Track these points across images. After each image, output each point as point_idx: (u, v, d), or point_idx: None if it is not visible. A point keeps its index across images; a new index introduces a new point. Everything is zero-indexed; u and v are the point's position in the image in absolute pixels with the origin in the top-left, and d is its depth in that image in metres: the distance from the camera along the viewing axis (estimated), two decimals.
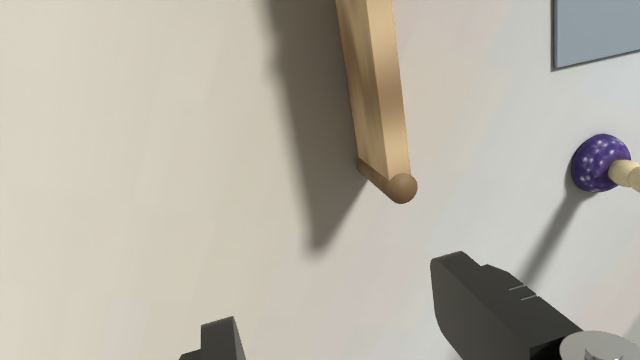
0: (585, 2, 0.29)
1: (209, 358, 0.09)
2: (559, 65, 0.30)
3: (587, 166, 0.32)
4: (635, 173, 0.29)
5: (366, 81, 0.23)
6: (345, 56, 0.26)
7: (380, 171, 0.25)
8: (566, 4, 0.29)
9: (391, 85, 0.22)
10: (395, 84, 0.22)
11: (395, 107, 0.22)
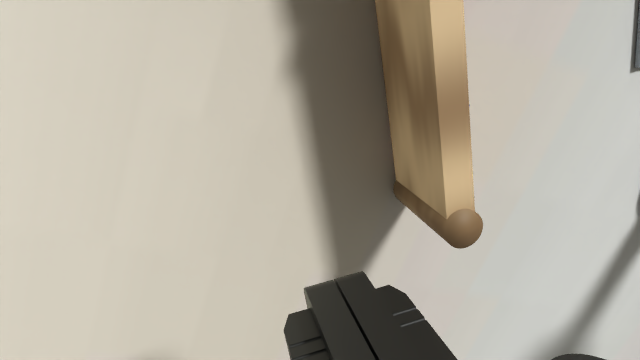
0: None
1: (324, 314, 0.10)
2: None
3: None
4: None
5: (417, 88, 0.18)
6: (384, 53, 0.20)
7: (432, 204, 0.19)
8: None
9: (455, 94, 0.16)
10: (460, 92, 0.16)
11: (459, 123, 0.17)
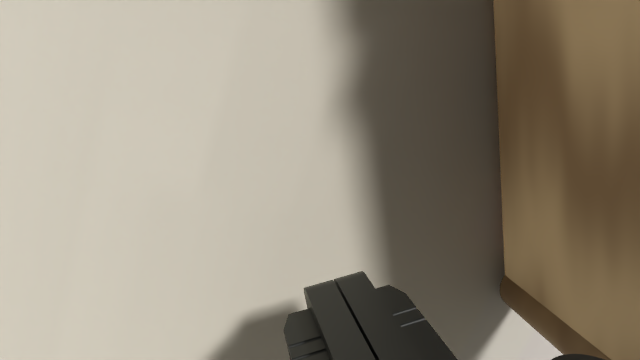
0: None
1: (324, 314, 0.10)
2: None
3: None
4: None
5: (599, 150, 0.09)
6: (505, 80, 0.12)
7: (604, 348, 0.11)
8: None
9: None
10: None
11: None
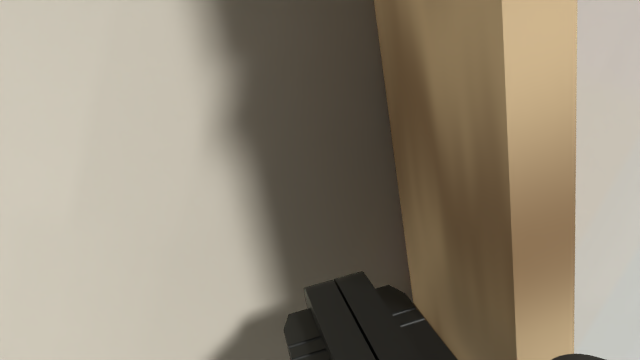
0: None
1: (324, 314, 0.10)
2: None
3: None
4: None
5: (462, 184, 0.09)
6: (392, 104, 0.11)
7: None
8: None
9: (549, 212, 0.08)
10: (560, 208, 0.08)
11: (553, 267, 0.08)
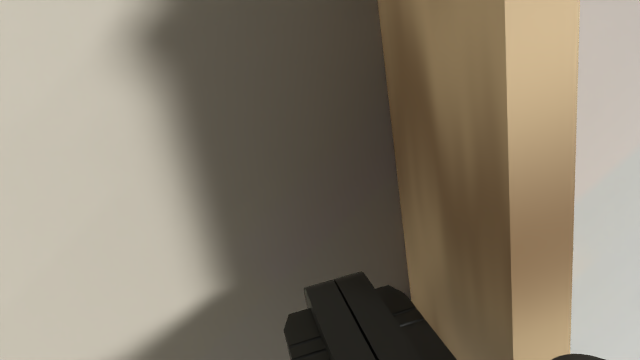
0: None
1: (324, 314, 0.10)
2: None
3: None
4: None
5: (461, 183, 0.09)
6: (394, 103, 0.11)
7: None
8: None
9: (548, 212, 0.08)
10: (558, 208, 0.08)
11: (551, 267, 0.08)
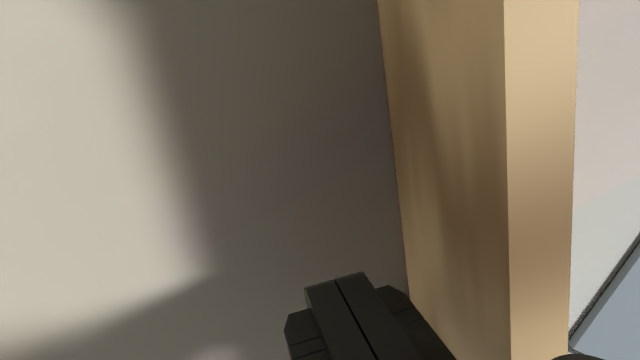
0: None
1: (324, 314, 0.10)
2: (577, 347, 0.16)
3: None
4: None
5: (460, 183, 0.09)
6: (393, 102, 0.11)
7: None
8: None
9: (546, 212, 0.08)
10: (557, 208, 0.08)
11: (549, 267, 0.08)
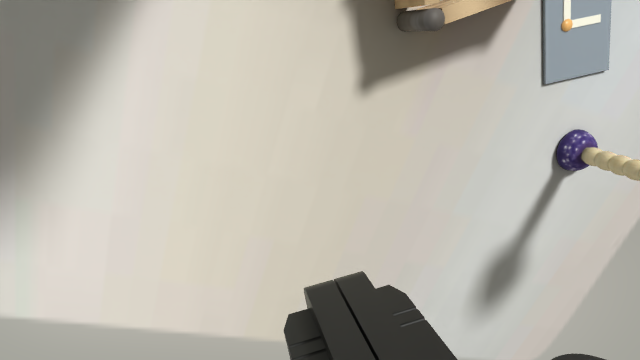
0: (564, 40, 0.43)
1: (324, 314, 0.10)
2: (547, 82, 0.44)
3: (567, 152, 0.46)
4: (598, 156, 0.43)
5: None
6: None
7: None
8: (551, 41, 0.43)
9: None
10: None
11: None
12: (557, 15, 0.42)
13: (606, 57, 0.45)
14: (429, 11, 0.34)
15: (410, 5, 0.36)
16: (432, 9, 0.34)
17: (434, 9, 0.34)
